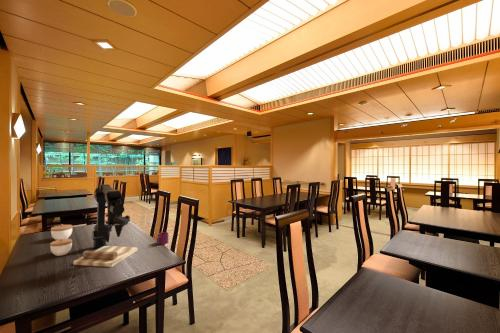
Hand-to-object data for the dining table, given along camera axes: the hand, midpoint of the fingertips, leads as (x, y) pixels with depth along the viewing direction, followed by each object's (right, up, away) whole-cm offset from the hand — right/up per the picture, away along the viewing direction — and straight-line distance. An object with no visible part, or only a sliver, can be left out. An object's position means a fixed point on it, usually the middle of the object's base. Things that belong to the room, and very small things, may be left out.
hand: (113, 239), depth 132 cm
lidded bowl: (-61, -12, +38) cm, 73 cm away
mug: (+16, -13, +30) cm, 37 cm away
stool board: (-7, -13, +7) cm, 16 cm away
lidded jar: (-39, -13, +11) cm, 42 cm away
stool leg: (-8, -10, 0) cm, 13 cm away
